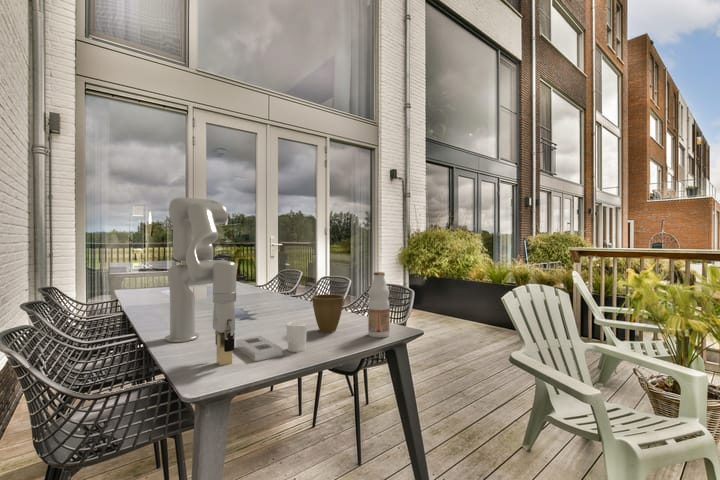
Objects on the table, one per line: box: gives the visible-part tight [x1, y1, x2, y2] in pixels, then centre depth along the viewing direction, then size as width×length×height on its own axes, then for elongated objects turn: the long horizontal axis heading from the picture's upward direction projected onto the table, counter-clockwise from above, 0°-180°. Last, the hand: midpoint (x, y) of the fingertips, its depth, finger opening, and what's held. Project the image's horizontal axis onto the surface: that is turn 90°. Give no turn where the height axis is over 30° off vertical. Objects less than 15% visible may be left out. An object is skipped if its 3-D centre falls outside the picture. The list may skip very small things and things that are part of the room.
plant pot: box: [311, 293, 345, 333], centre depth 168 cm, size 15×15×16 cm
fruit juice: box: [367, 271, 391, 339], centre depth 160 cm, size 9×9×28 cm
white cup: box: [285, 320, 308, 353], centre depth 139 cm, size 8×8×10 cm
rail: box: [235, 335, 283, 362], centre depth 136 cm, size 20×10×3 cm, turn 37°
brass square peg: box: [214, 330, 233, 367], centre depth 123 cm, size 5×5×11 cm
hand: (224, 347), depth 123 cm, fingers open, 9 cm apart
